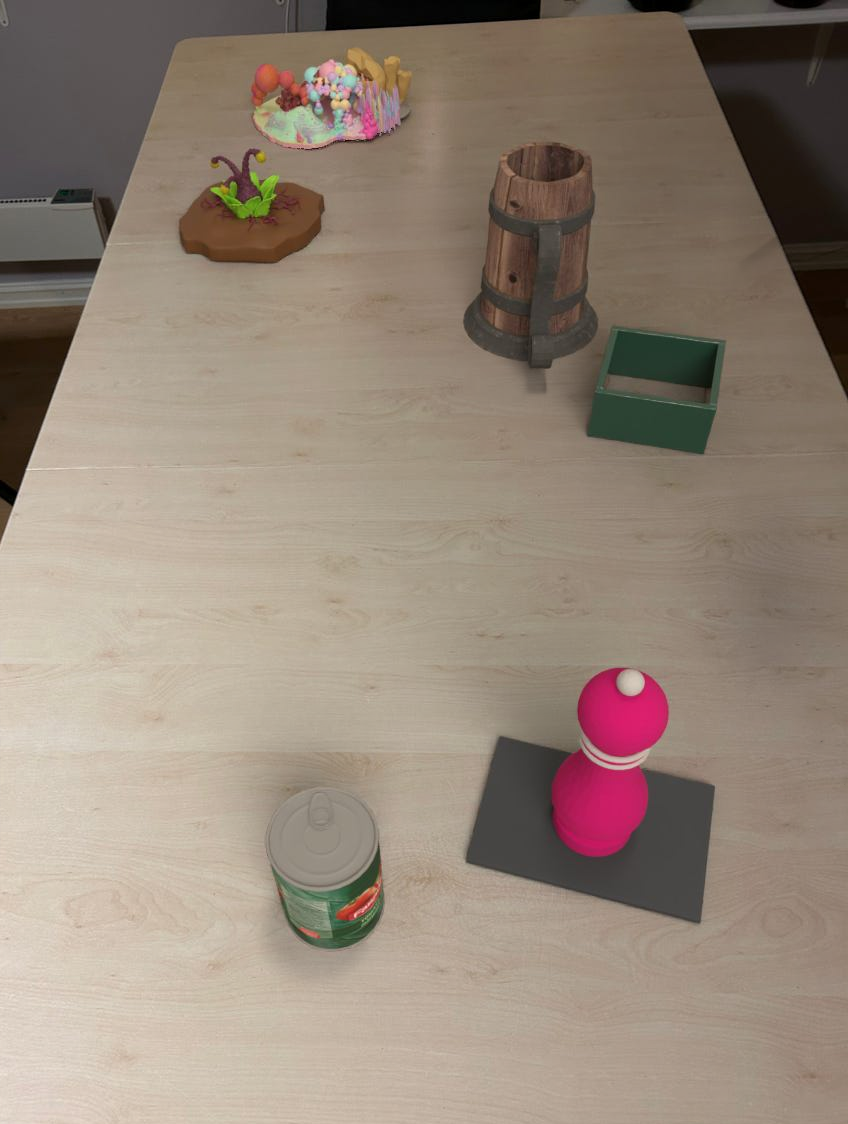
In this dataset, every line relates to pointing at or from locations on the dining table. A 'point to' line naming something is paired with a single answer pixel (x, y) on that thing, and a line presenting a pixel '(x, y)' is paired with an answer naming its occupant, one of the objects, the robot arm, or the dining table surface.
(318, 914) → the canned tomato
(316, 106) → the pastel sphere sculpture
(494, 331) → the tankard
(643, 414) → the holder
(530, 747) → the mat
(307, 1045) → the dining table surface
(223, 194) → the plant
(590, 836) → the pepper mill
